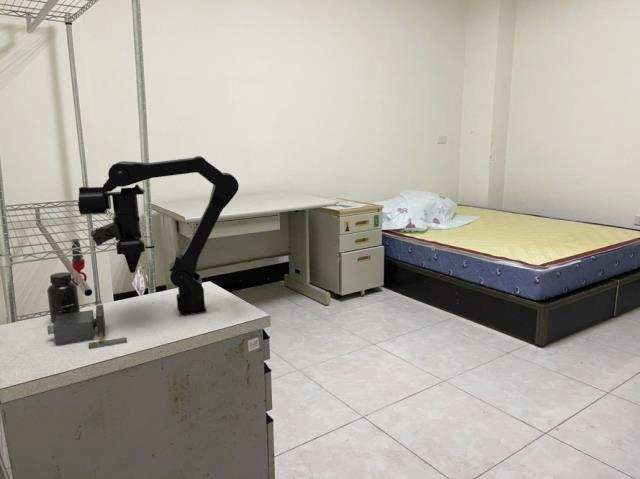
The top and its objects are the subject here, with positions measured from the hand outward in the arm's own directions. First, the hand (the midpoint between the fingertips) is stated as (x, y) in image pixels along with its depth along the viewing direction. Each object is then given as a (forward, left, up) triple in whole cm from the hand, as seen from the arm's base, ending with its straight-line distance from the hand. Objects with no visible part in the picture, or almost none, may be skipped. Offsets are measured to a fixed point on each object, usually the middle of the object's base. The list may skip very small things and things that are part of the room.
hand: (132, 272), depth 123 cm
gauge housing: (+10, +10, -12) cm, 19 cm away
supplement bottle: (+17, -6, -12) cm, 22 cm away
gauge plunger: (+14, +9, -11) cm, 20 cm away
